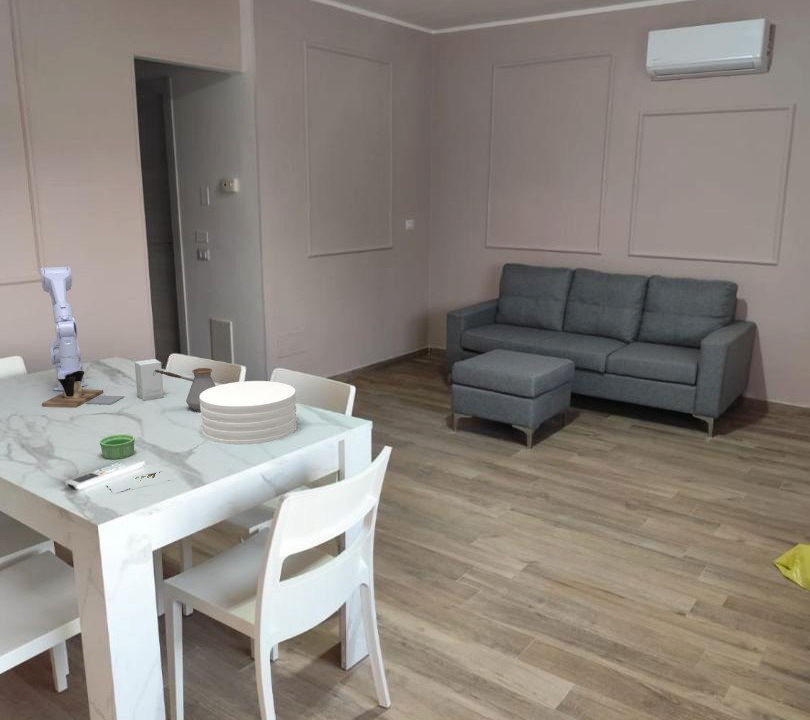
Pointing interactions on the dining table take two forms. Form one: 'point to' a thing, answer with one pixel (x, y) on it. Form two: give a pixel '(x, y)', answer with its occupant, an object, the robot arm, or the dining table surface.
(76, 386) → the beech block
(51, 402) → the walnut pocket board
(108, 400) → the slate rubber mat
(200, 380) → the coffee pot
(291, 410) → the plate stack
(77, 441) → the dining table surface
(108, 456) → the ramekin
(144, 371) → the supplement box
